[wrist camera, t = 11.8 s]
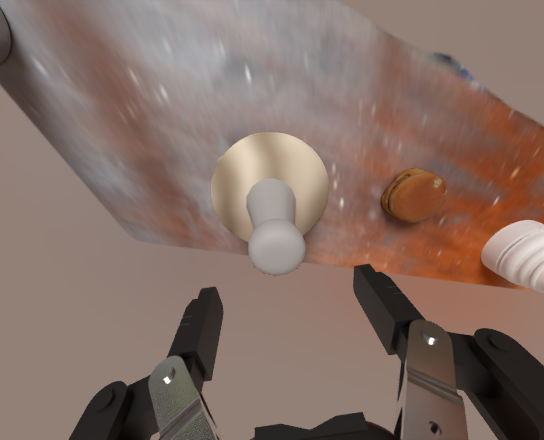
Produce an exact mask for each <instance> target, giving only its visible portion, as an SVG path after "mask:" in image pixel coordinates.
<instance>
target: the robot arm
mask: <svg viewBox="0 0 544 440" xmlns="http://www.w3.org/2000/svg"><path fill="white" fill-rule="evenodd" d="M10 46H11V38H10V31H9V28H8V24H7V22H6V20H5V17H4V15H3V13H2V11H1V10H0V63H1V62H3V61H4V60H5V59H6V58H7V56H8V54H9V51H10ZM353 281H354V282H353V288H354V293H355V295H356V297H357V299H358V301H359V303H360V305H361V306H362V308H363V310H364V312H365V314H366V315H367V317H368V319H369V321H370V323H371V324H372V326H373V328H374V330H375V331H376V333H377V335H378V337H379V339H380V341H381V342H382V344H383V346H384V348H385V350H386V351H387V353H388V355H394V354H397V355H398V357H399V358H400V360H401V362H400V369H399V379H398V389H397V398H396V407H395V413H394V419H393V426H392V433H391V432H390V431H388V430H387V429H385V428H383V427H381V426H379V425H377V424H374V423H371V422H368V421H366V420H365V418H364V415H363V412H359V413H352V414H346V415H339V416H335V417H333V418H331V419H329V420H328V421H326V422H324V423H323V424H320V425H319V426H317V427H315V428H313V429H310V430H308V429H302V428H298V427H294V426H289V425H284V424H277V425H270V426H263V427H256V428H255V437H254V438H252V439H250V440H468V432H467V424H466V415H465V407H464V402H463V399H462V397H461V396H459V395H458V394H457V389H459V390H463V391H464V392H465V393H466V394H467V396H468V397H469V399H470V400H471V402H472V403H473V404H474V406H475V407H476V409H477V410H478V411H479V413H480V414H481V416H482V417H483V418H484V420H485V421H486V423H487V424H488V425H489V427H490V428H491V430H492V431H493V433H494V434H495V436H496V437H497V438H498V440H544V366H543V365H542V364H541V363H540V362H539V361H538V360H537V359H536V358H534V357H533V356H532V355H531V354H530V353H529V352H528V351H527V350H526V349H525V348H523V347H522V346H521V345H520V344H519V343H518V342H516V341H515V340H514V339H512V338H511V337H509V336H508V335H506V334H504V333H502V332H499V331H496V330H493V329H487V328H482V329H478V330H477V331H476V332H475V333H474V335H473V336H470V335H464V334H457V333H451V332H446V331H445V330H444V329H443V328H442V327H440V326H439V325H437V324H435V323H433V322H431V321H427V320H425V318H424V317H423V316H422V315H421V314H420V313H419V312H418V310H417V309H416V308H415V307H414V306H413V304H412V303H411V302H410V301H409V300H408V298H407V297H406V296H405V295H404V294H403V293H402V291H401V290H400V289H399V288H398V287H397V286H396V284H395V283H394V282H393V281H392V280H391V278H390V277H388V276H386V275H385V274H384V273H382V272H375V270H374V269H373V268H372V266H371V265H370V264H365V265H358V266H355V267H354V280H353ZM222 319H223V305H222V302H221V299H220V297H219V294H218V291H217V289H216V287H210V288H202V289H201V291H200V294H199V296H198V299H193V300H192V301H191V302H190V304H189V305H188V306H187V307H186V310H185V312H184V315H183V318H182V320H181V322H180V326H179V328H178V330H177V333H176V335H175V338H174V341H173V343H172V346H171V348H170V351H169V354H168V356H167V358H166V359H164V360H163V361H162V362H160V363H159V364H158V365H157V366H156V367H155V369H154V370H153V372H152V374H151V375H149V376H148V377H145V378H143V379H141V380H139V381H137V382H135V383H133V384H131V385H129V386H127V385H126V384H125V383H124V382H122V381H116V382H113V383H111V384H109V385H107V386H105V387H104V388H103V389H101V391H99V392H98V393H97V394H96V395H95V396H94V397H93V399H92V400H91V401H90V403H89V404H88V406H87V408H86V410H85V411H84V413H83V415H82V417H81V418H80V420H79V422H78V424H77V426H76V427H75V429H74V431H73V433H72V434H71V436H70V438H69V440H150V438H151V435H153V434H155V433H157V432H160V439H159V440H224V439H223V437H222V435H221V433H220V431H219V429H218V427H217V425H216V422H215V420H214V418H213V416H212V414H211V411H210V409H209V407H208V405H207V403H206V400H205V398H204V396H203V394H202V387H203V382H204V381H211V380H212V375H213V369H214V363H215V358H216V352H217V347H218V341H219V336H220V330H221V325H222Z"/></svg>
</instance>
